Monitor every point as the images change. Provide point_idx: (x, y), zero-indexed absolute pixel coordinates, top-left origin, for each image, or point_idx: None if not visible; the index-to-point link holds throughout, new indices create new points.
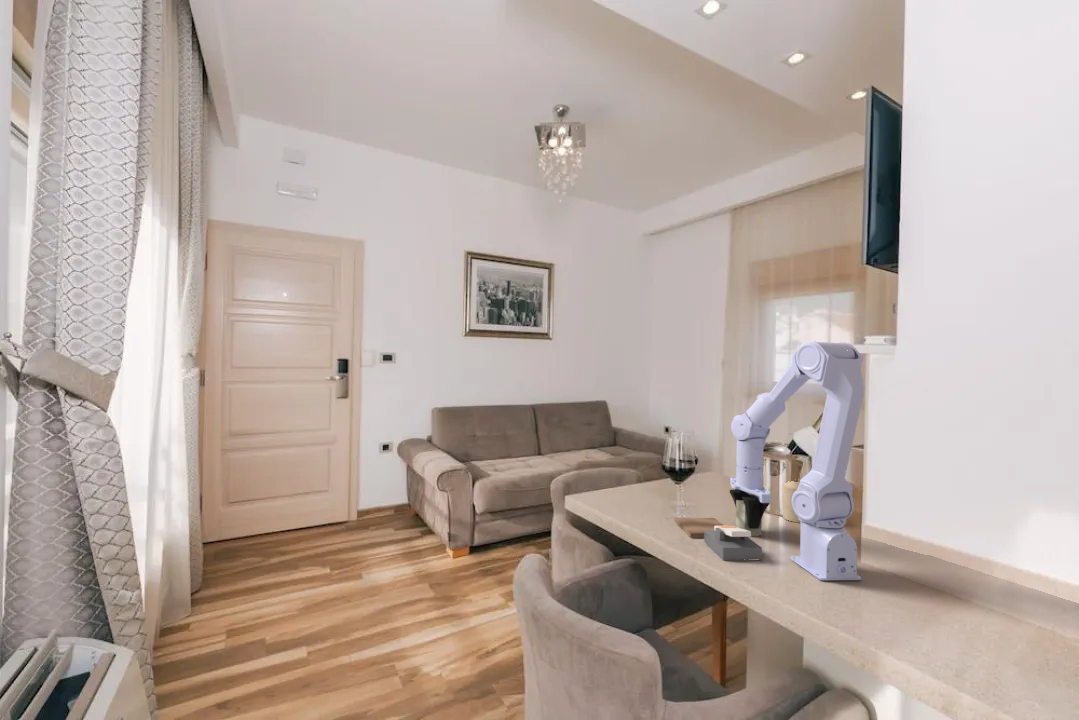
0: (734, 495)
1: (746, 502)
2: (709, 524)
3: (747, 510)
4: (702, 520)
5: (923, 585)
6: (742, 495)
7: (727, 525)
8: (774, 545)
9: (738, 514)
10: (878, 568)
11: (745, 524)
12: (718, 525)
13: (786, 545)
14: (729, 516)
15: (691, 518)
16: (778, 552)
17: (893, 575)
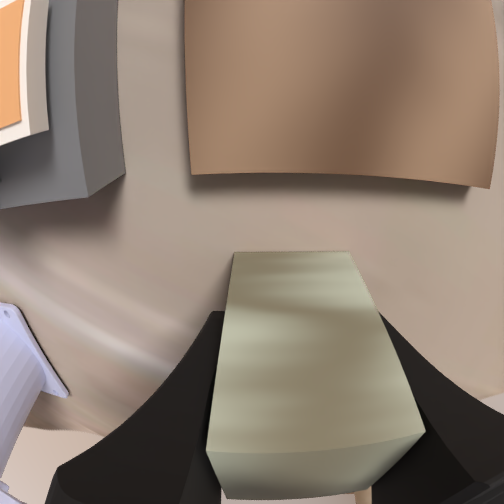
0: (457, 467)
1: (79, 481)
2: (392, 69)
3: (171, 412)
4: (465, 73)
5: (36, 425)
6: (411, 499)
7: (15, 90)
8: (125, 329)
9: (345, 331)
10: (70, 429)
11: (228, 305)
12: (19, 12)
13: (140, 367)
14: (495, 299)
15: (489, 26)
16: (57, 302)
17: (51, 424)
